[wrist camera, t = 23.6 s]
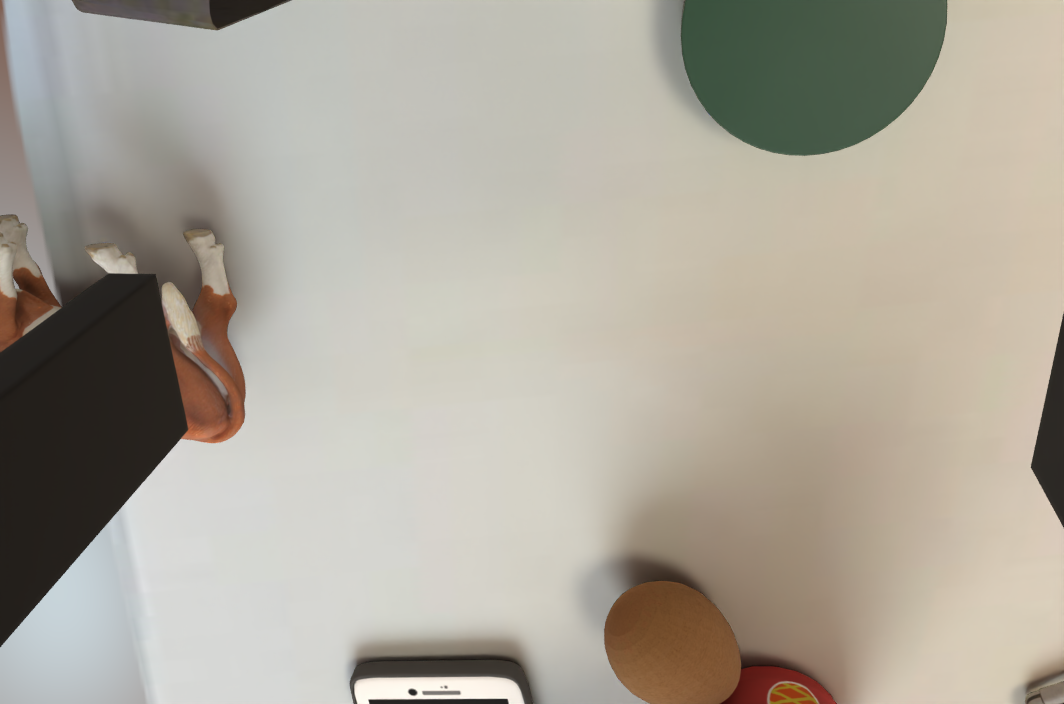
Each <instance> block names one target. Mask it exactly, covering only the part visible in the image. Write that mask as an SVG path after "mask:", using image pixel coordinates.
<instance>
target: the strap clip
mask: <svg viewBox="0 0 1064 704" xmlns="http://www.w3.org/2000/svg"><path fill="white" fill-rule="evenodd" d="M1061 703H1064V681H1063V682H1060V683H1057V684H1054V685H1050V686H1047V687H1044V688H1041V689H1039V690H1038V691H1035V692H1032V693H1030V694H1028V695H1027V696H1026V699H1025V704H1061Z"/></svg>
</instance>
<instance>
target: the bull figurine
mask: <svg viewBox="0 0 1064 704" xmlns="http://www.w3.org/2000/svg"><path fill="white" fill-rule="evenodd" d="M27 231H28V228H27V226H26V224H24V223H21V224H20V222H19V220H18V217H17V216H16V215H1V216H0V352H2V351H3V350H4V349H6V348H7V347H9V346H10V345H11V344H13V343H14V342H15V341H17V340H18V339H19V338H21V337H22V336H24V335H25V334H26V333H28V332H29V331H30V330H32V329H33V328H35V327H36V326H37V325H39V324H40V323H41V322H43V321H44V320H46V319H47V318H48V317H50V316H51V315H52V314H54V313H55V312H56V311H58V310H59V309H61V308H62V307H61V306H60V304H59V302H58V301H57V300H56V298H55V297H54V295H53V294H52V293H51V291H50V289H49V287H48V285H47V283H46V281H45V280H44V278H43V275H42V273H41V270H40V268H39V266H38V265H37V264H36V263H35V262H34V261H33V260H32V258H31V256H30V255H29V253H28V251H27V248H26V235H27ZM183 235H184V237H185V239H186V241H187V242H188V244H189V246H190V247H191V249H192V250H193V252H194V253H195V255H196V257H197V259H198V261H199V264H200V267H201V272H202V289H201V293H200V295H199V297H198V299H197V301H196V303H195V306H194V308H193V311H191V310H190V309H189V307H188V305H187V303H186V300H185V298H184V297H183V295H182V294H181V293H180V292H179V290H178V289H177V288H176V287H175V285H174V284H173V283H171V282H166V283H165V284H163V286H162V301H161V302H162V307H163V312H164V316H165V321H166V326H167V330H168V335H169V340H170V345H171V349H172V354H173V359H174V363H175V368H176V373H177V378H178V382H179V387H180V392H181V396H182V401H183V406H184V410H185V415H186V420H187V425H188V429H189V430H188V431H187V432H186V433H185V434H184V436H183V437H182V438H181V439H187V440H195V441H200V442H207V443H219V442H223V441H226V440H228V439H229V438H231V437H233V436H234V435H235V434H236V433H237V432H238V430H239V429H240V428H241V426H242V424H243V423H244V418H245V409H244V401H245V380H244V375H243V372H242V369H241V366H240V363H239V361H238V359H237V356H236V354H235V352H234V350H233V348H232V346H231V344H230V342H229V340H228V337H227V326H228V323H229V320H230V318H231V316H232V315H233V313H234V312H235V310H236V307H237V301H236V299H235V297H234V296H233V294H232V292H231V290H230V287H229V284H228V281H227V278H226V274H225V269H224V264H223V253H224V246H223V245H222V244H220V243H219V244H215V237H214V235H213V233H212V231H211V230H207V229H192V230H189V231H185V232H183ZM84 248H85V251H86V252H87V253H88V254H89V255H90V256H91V258H92V259H93V260H94V261H95V262H96V263H97V264H99V265H100V266H101V267H102V268H103V269H104V270H105V271H107V272H108V273H123V274H138V271H137V268H136V259H135V256H134V255H133V254H132V253H130V252H128V253H126V254H125V255H122V253H121V252H120V251H119V250H118V248H117V246H116V244H114V243H97V244H91V245H87V246H85V247H84ZM12 273H13V276H12ZM13 278H14V280H15V281H16V283H17V284H18V286H19V289H15V286H14V282H13Z"/></svg>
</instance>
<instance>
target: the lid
mask: <svg viewBox="0 0 1064 704" xmlns="http://www.w3.org/2000/svg"><path fill="white" fill-rule="evenodd" d="M946 24H947V0H685V1H684V6H683V13H682V24H681V45H682V55H683V60H684V64H685V69H686V72H687V75H688V78H689V81H690V83H691V86H692V88H693V90H694V92H695V94H696V96H697V98H698V99H699V101H700V102H701V104H702V105H703V107H704V108H705V109H706V111H707V112H708V113H709V114H710V115H711V116H712V118H713V119H714V120H715V121H716V122H717V123H718V124H719V125H720V126H722V127H723V128H724V129H725V130H727V131H728V132H729V133H730V134H732V135H733V136H735V137H737V138H738V139H740V140H742V141H743V142H745V143H747V144H750V145H752V146H754V147H757V148H759V149H763V150H766V151H769V152H773V153H779V154H785V155H802V156H807V155H817V154H825V153H829V152H834V151H838V150H841V149H844V148H847V147H850V146H853V145H855V144H857V143H859V142H861V141H863V140H866V139H868V138H870V137H871V136H873V135H874V134H876V133H878V132H879V131H881V130H882V129H884V128H885V127H887V126H888V125H889V124H890V123H891V122H893V121H894V120H895V119H896V118H898V117H899V116H900V115H901V114H902V113H903V112H904V111H905V110H906V109H907V107H908V106H909V105H910V104H911V103H912V102H913V101H914V99H915V98H916V97H917V95H918V94H919V93H920V92H921V90H922V89H923V87H924V85H925V84H926V82H927V80H928V79H929V77H930V75H931V73H932V71H933V69H934V67H935V64H936V62H937V60H938V58H939V54H940V51H941V48H942V44H943V41H944V36H945V30H946Z"/></svg>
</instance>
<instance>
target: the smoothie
mask: <svg viewBox="0 0 1064 704" xmlns="http://www.w3.org/2000/svg"><path fill="white" fill-rule="evenodd" d="M720 704H837V703H836V702H835V701H834V700H833V698H832V696H831V695H830V694H829V693H828V692H827V691H826V690H825V689H824V688H823V687H822V686H821V685H820V684H819V683H818V682H817V681H815V680H813V679H811V678H809V677H807V676H805V675H803V674H801V673H800V672H798V671H793V670H789V669H785V668H780V667H776V666H752V667H748V668H744V669H741V673H740V679H739V682H738V685H737V687H736V689H735V690H734V692H733V693H732V694H731V695H730V696H729V697H728V698H727V699H726V700H725V701H723V702H722V703H720Z"/></svg>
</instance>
